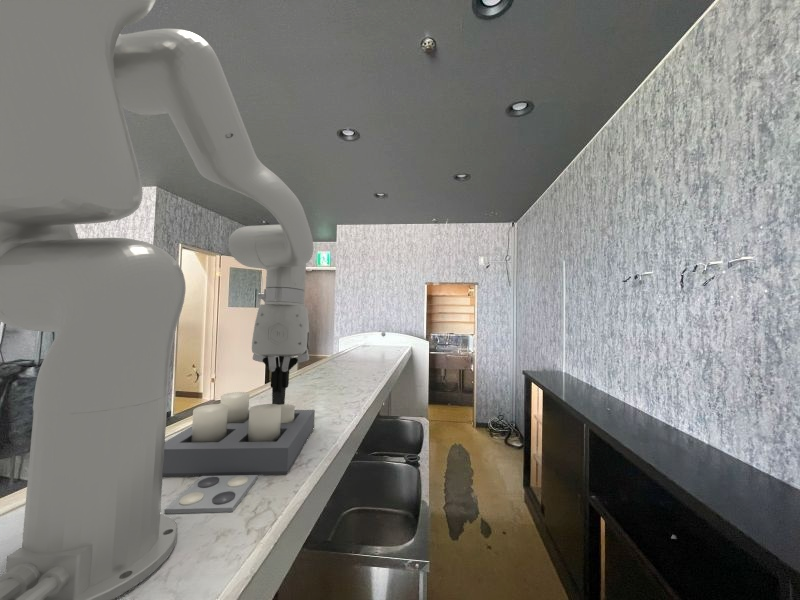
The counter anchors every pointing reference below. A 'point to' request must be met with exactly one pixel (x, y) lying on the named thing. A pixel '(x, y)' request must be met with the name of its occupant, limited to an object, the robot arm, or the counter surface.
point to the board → (238, 451)
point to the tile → (213, 494)
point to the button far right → (287, 413)
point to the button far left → (236, 406)
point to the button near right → (264, 423)
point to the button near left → (209, 423)
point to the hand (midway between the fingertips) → (279, 391)
